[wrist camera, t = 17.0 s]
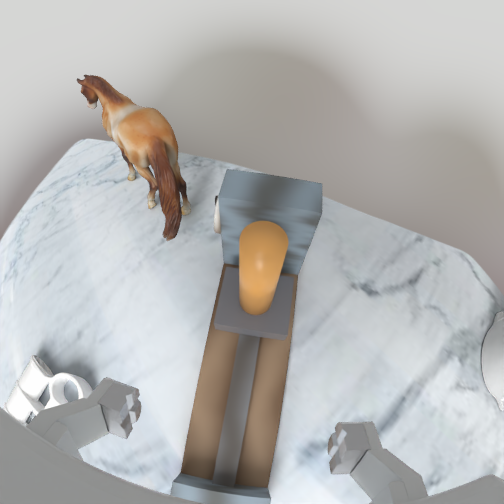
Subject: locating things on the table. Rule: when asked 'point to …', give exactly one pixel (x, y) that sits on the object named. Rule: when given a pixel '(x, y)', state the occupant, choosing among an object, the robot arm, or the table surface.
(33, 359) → the white brass knuckles
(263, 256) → the carriage
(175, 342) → the table surface
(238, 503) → the walnut rail
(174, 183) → the horse figurine
